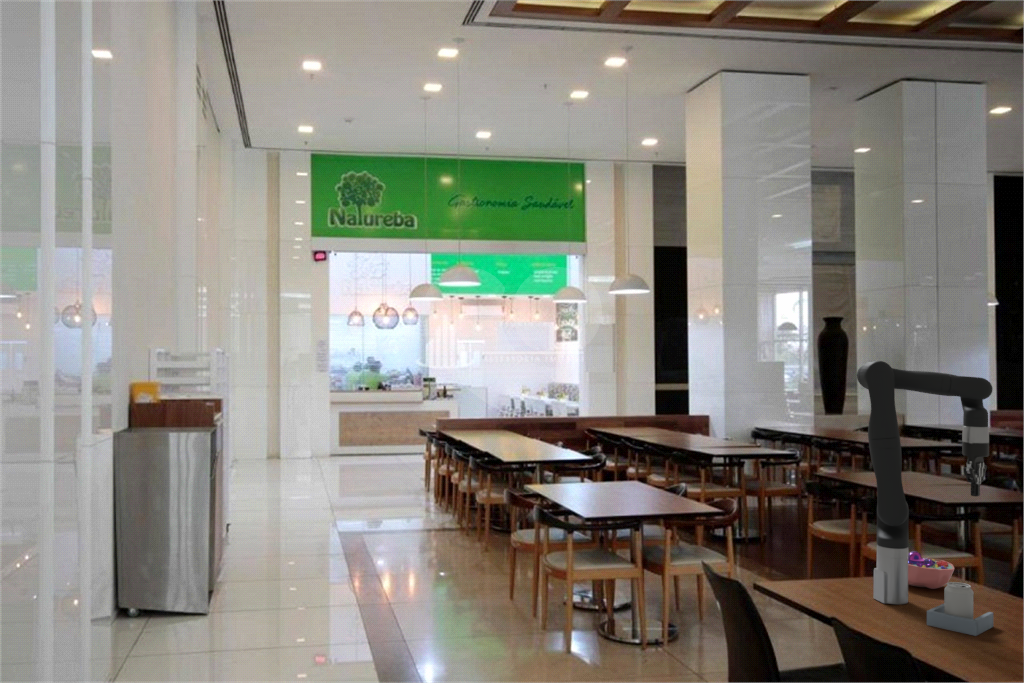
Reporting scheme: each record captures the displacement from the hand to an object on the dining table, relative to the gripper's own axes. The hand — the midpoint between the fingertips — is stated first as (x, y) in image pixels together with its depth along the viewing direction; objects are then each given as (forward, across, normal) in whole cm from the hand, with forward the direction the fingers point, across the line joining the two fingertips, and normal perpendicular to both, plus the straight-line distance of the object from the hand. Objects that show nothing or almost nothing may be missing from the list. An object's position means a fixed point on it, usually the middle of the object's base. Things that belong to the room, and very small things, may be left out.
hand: (975, 495), depth 289 cm
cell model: (+33, -5, -18) cm, 38 cm away
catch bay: (+33, +30, +7) cm, 45 cm away
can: (+33, +31, +7) cm, 46 cm away
